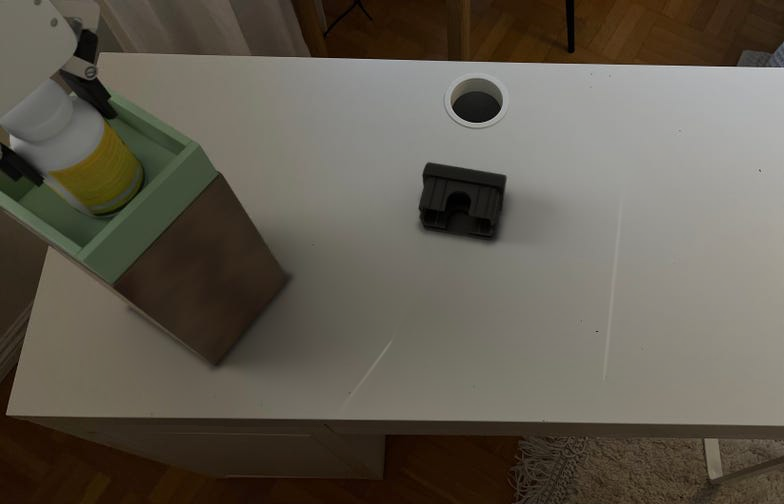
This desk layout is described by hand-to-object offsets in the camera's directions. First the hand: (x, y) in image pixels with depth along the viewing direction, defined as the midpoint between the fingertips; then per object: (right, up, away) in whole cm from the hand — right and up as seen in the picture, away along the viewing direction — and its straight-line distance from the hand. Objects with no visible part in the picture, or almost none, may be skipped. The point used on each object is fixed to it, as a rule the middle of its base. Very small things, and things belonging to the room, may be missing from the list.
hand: (65, 140), depth 50 cm
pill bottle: (0, -3, +7) cm, 7 cm away
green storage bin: (0, -3, +7) cm, 8 cm away
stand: (-1, -13, +29) cm, 32 cm away
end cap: (+29, -3, +34) cm, 45 cm away
